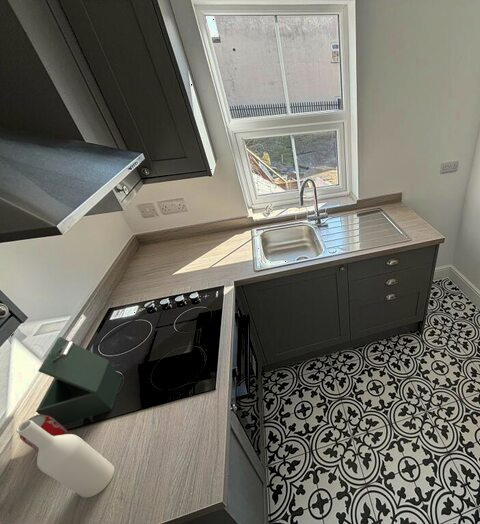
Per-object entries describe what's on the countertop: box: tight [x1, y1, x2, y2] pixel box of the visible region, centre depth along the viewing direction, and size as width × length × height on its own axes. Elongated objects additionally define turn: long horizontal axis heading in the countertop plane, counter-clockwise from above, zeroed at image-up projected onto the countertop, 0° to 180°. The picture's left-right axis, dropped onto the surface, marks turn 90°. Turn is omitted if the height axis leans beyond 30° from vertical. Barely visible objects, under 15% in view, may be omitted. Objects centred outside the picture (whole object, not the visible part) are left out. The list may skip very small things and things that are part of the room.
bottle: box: [16, 419, 115, 498], centre depth 72 cm, size 8×8×30 cm
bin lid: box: [37, 336, 110, 394], centre depth 91 cm, size 16×13×5 cm
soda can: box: [18, 414, 71, 452], centre depth 85 cm, size 7×7×12 cm
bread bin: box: [35, 361, 123, 427], centre depth 97 cm, size 16×13×10 cm
